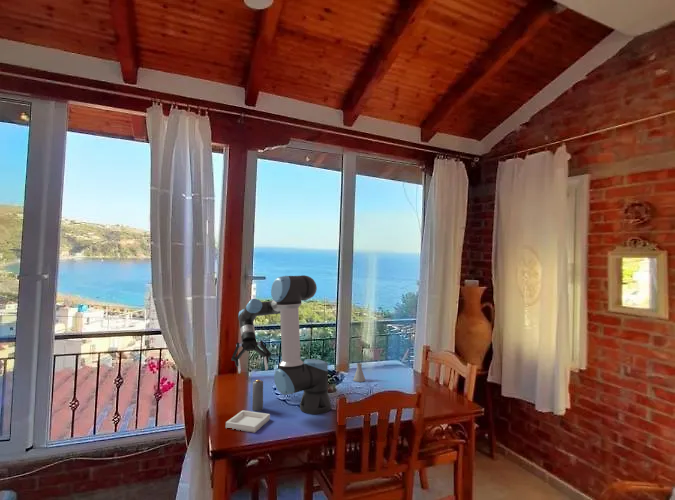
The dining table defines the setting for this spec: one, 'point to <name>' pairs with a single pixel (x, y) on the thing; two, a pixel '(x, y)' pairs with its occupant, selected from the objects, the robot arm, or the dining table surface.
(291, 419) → the dining table surface
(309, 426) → the dining table surface
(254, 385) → the charcoal cell
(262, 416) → the tray
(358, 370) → the flask
